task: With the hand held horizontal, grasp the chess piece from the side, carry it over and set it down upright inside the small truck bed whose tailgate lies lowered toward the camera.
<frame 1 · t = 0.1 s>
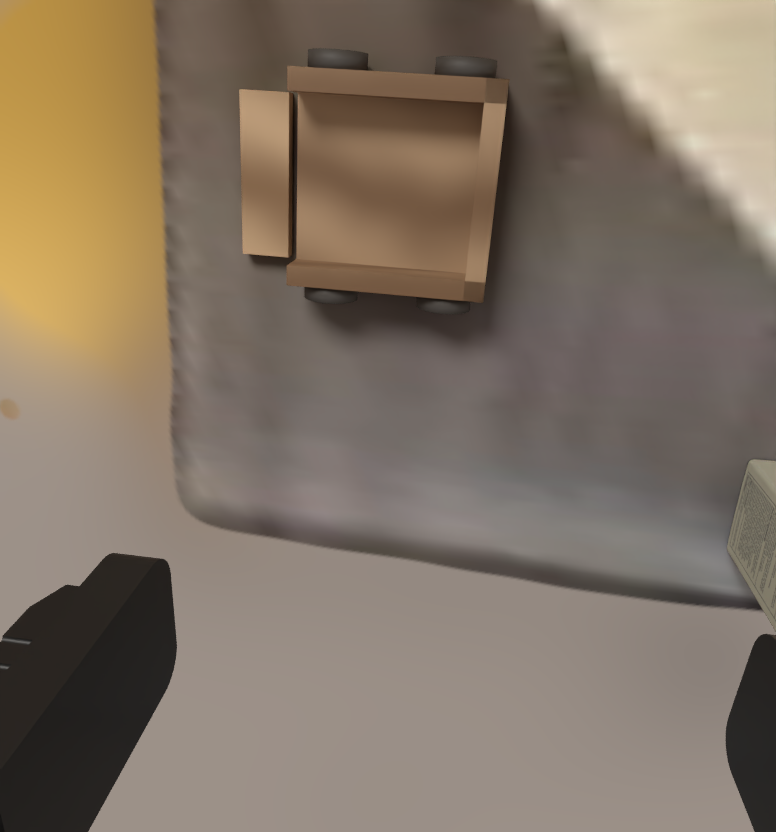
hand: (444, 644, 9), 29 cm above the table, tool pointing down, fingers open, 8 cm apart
skincare box: (771, 504, 39), on the table
truck bed: (396, 185, 35), on the table
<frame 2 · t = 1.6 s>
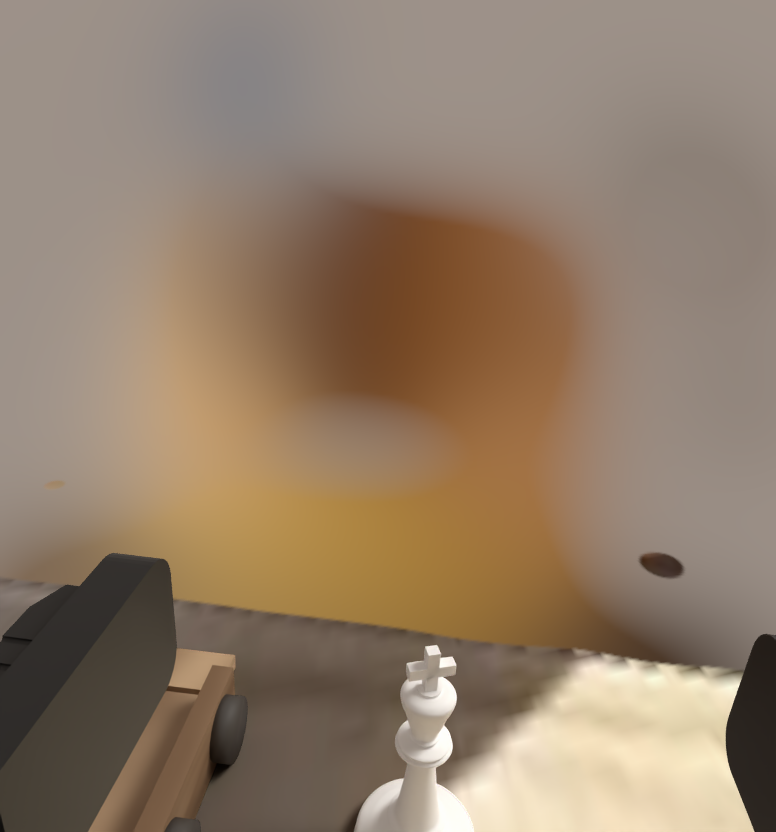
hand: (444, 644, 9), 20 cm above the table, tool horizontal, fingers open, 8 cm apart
truck bed: (82, 794, 29), on the table
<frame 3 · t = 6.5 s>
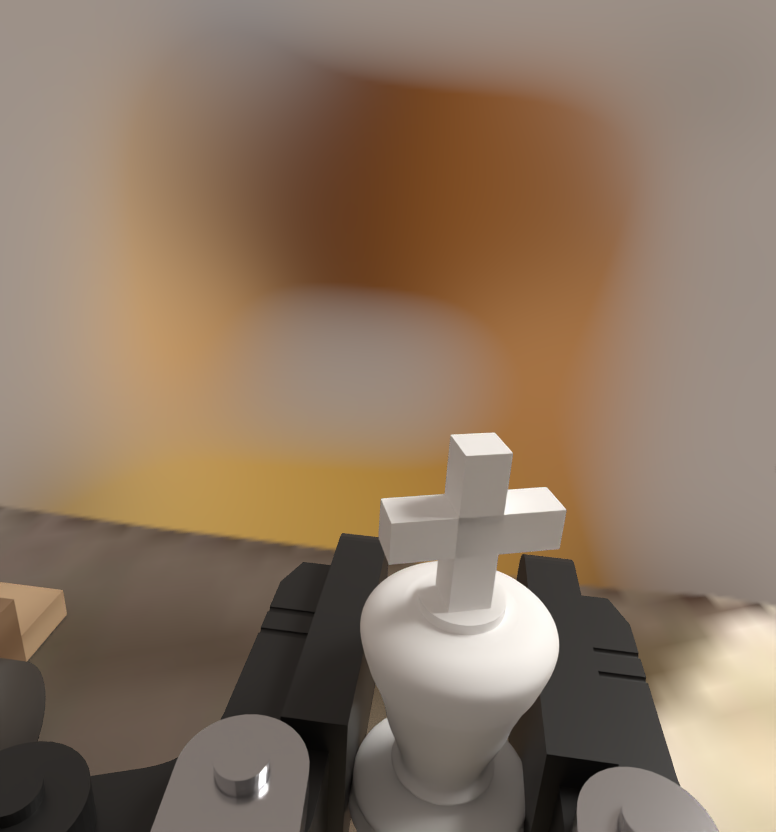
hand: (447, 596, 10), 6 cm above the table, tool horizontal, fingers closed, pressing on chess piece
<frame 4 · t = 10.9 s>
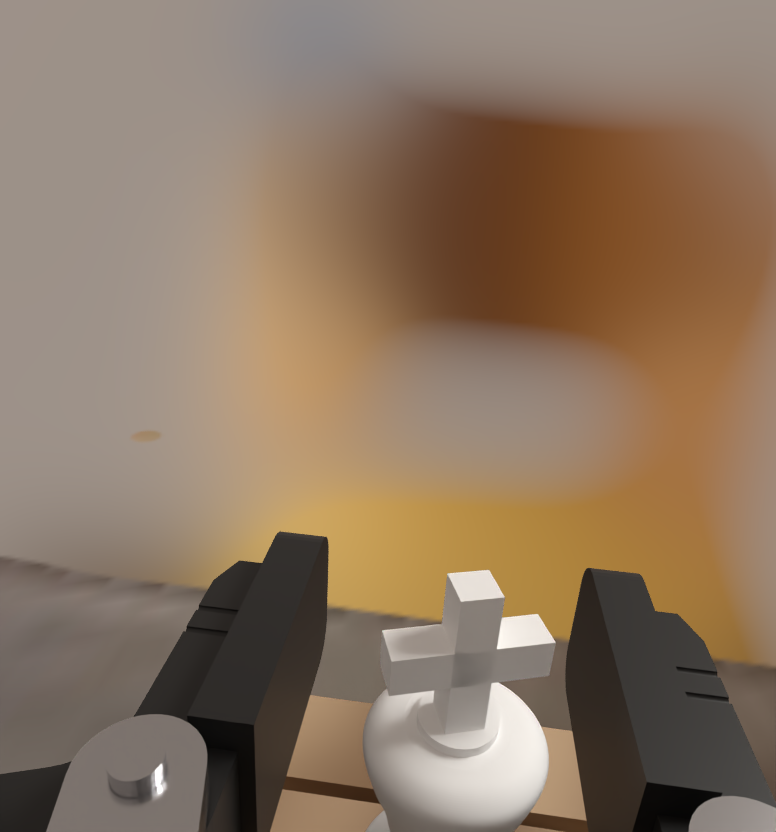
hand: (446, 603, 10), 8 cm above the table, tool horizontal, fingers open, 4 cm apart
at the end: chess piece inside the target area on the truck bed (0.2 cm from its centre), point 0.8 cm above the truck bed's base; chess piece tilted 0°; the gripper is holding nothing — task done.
